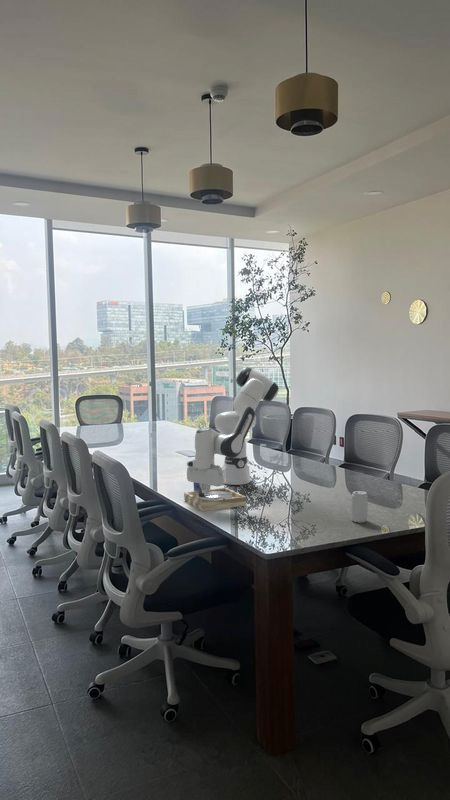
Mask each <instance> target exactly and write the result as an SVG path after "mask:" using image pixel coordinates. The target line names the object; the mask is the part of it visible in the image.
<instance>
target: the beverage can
mask: <svg viewBox="0 0 450 800" xmlns="http://www.w3.org/2000/svg"><path fill="white" fill-rule="evenodd" d="M368 497H369V496H368V493H367V492H366V491H363V490H355V491H352V494H351V515H350V516H351V518H350V519H351V520H352V522H353V521H354V523H356V522H358V523H357V524H364V523H366V522H367V521H368V515H369V513H368V507H369V506H368V505H369V504H368V503H369V501H368ZM363 522H364V523H363Z"/></svg>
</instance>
